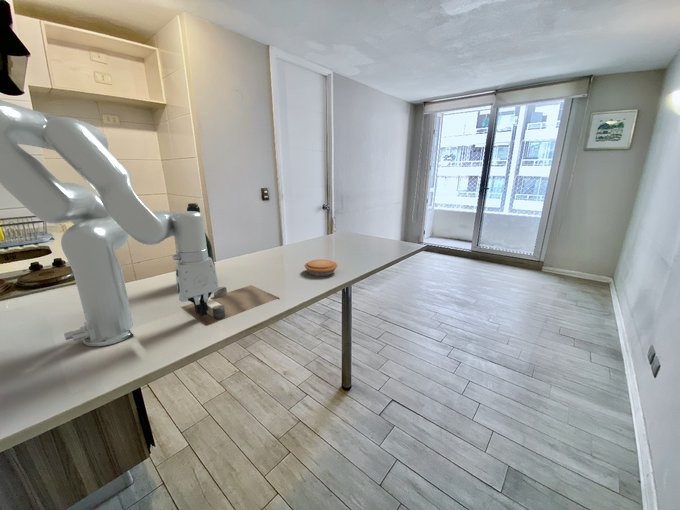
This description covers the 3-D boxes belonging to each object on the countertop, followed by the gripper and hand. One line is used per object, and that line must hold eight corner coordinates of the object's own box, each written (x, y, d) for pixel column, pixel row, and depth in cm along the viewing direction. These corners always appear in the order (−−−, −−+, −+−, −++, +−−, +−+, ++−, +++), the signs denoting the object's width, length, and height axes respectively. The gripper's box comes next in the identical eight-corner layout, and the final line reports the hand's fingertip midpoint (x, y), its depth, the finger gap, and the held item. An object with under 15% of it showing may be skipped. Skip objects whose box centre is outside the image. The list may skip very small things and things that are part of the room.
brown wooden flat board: (206, 330, 80) (204, 316, 79) (181, 311, 92) (179, 298, 90) (279, 301, 99) (279, 289, 98) (251, 288, 111) (250, 278, 109)
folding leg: (194, 305, 92) (193, 295, 91) (204, 302, 94) (203, 292, 93) (216, 320, 83) (215, 309, 82) (227, 316, 85) (226, 306, 84)
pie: (300, 269, 134) (299, 259, 133) (329, 265, 141) (329, 256, 139) (310, 280, 121) (310, 269, 120) (343, 275, 127) (343, 264, 126)
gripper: (169, 264, 71) (180, 328, 76) (225, 252, 82) (231, 309, 87) (158, 258, 76) (170, 319, 81) (213, 248, 87) (220, 302, 92)
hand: (202, 314), depth 84 cm, fingers closed
